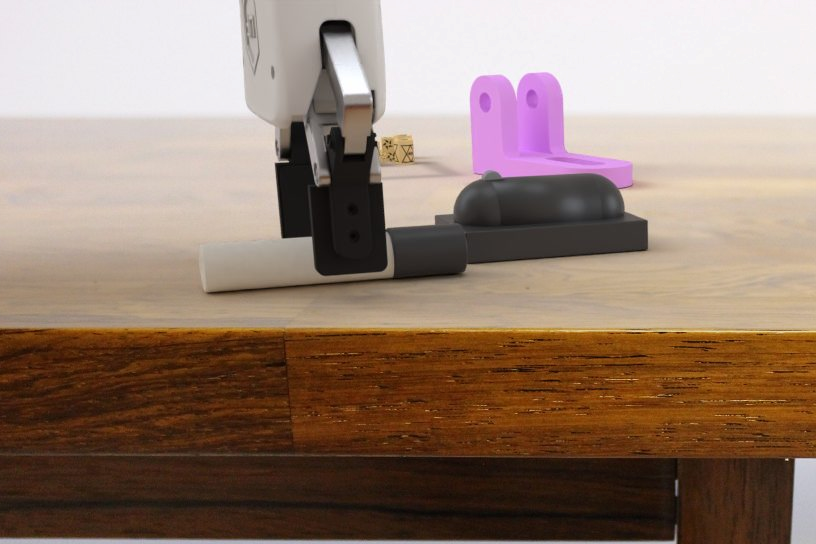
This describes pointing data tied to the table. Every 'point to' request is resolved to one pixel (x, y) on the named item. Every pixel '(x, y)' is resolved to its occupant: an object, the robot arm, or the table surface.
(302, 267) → the pen
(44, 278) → the table surface
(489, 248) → the mouse
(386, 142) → the dice set
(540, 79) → the bracket
